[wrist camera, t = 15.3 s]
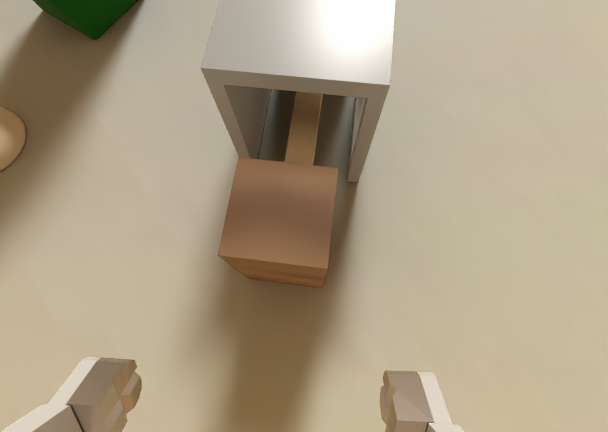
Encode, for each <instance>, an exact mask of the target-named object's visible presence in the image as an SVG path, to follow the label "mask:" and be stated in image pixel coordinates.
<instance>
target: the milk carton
mask: <svg viewBox="0 0 608 432" xmlns="http://www.w3.org/2000/svg"><path fill="white" fill-rule="evenodd" d="M33 1H34V2H35V3H36V4H37V5H38V6H39V7H40V8H41V9H43V10H44V11H46V12H48V13H49V14H51V15H53V16H55V17H56V18H58V19H60V20H61V21H63V22H65V23H67V24H68V25H70V26H72V27H74V28H75V29H77V30H79V31H80V32H82V33H84V34H86V35H87V36H89V37H91V38H92V39H94V40H96V39H97V38H98V37H99V36H101V35H102V34H103V33H104V32H105V31H106V30H107V29H108V28H109V27H110V26H111V25H112V24H113V23H114V22H115V21H117V20H118V19H119V18H120V17H121V16H122V15H123V14H124V13H125V12H126V11H127V10H128V9H129V8H130V7H131V6H133V5H134V4H135V3H136V2H137V1H138V0H33Z"/></svg>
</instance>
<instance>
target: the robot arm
mask: <svg viewBox="0 0 608 432" xmlns="http://www.w3.org/2000/svg"><path fill="white" fill-rule="evenodd" d="M136 368H137V365H136V362H135V360H130V359H116V358H102V357H86V358H84V359H83V360H81V361H80V363H79V364H78V365H77V367H76V368H75V369H74V370H73V372H72V373H71V374H70V376H69V377H68V378H67V380H66V381H65V382H64V383H63V385H62V386H61V387H60V389H59V390H58V391H57V392H56V394H55V395H54V396H53V398H52V399H51V400H50V402H49V403H48V404H42V405H40V406H39V407H37V408H36V409H34V410H33V411H31V412H30V413H28V414H26V415H25V416H23V417H22V418H20V419H19V420H17V421H16V422H14V423H13V424H11V425H10V426H8V427H6V428H5V429H3V430H2V431H0V432H122V430H123V428H124V427H125V425H126V423H127V416H126V414H127V413H128V412H129V411H130V410H132V409H133V408H134V407H135V405H136V403H137V401H138V399H139V396H140V392H141V388H142V381H141V378H140V376H139V375H138V374H137V373H136V372H134V371H135V370H136ZM383 382H384V386H382V387H381V392H380V408H381V416H382V420H383V421H384V422H385V424H386V430H385V432H465V431H464V430H463V429H462V428H461V427H460V426H459V425H458V424H453V423H452V420H451V417H450V415H449V412H448V409H447V406H446V404H445V401H444V398H443V395H442V393H441V390H440V387H439V384H438V382H437V379H436V376H435V375H434V373H432V372H415V371H386V370H385V372H384V375H383Z"/></svg>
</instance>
